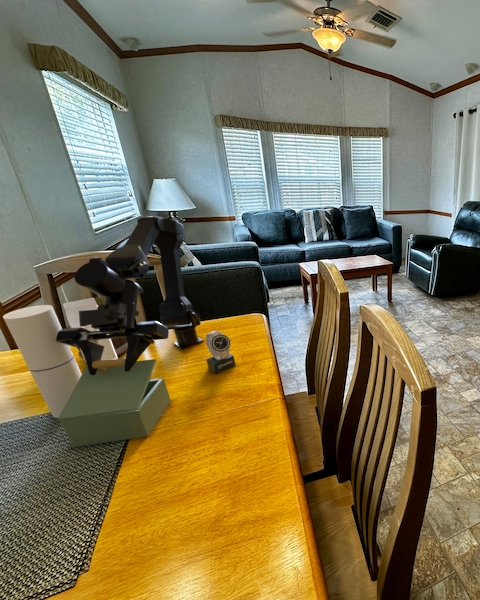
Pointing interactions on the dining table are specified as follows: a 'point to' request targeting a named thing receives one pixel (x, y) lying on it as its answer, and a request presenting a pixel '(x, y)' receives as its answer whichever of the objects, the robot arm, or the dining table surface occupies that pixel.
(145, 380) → the lid
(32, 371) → the cylindrical container
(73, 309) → the milk
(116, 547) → the dining table surface
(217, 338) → the watch
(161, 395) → the green hinged box
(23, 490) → the dining table surface
